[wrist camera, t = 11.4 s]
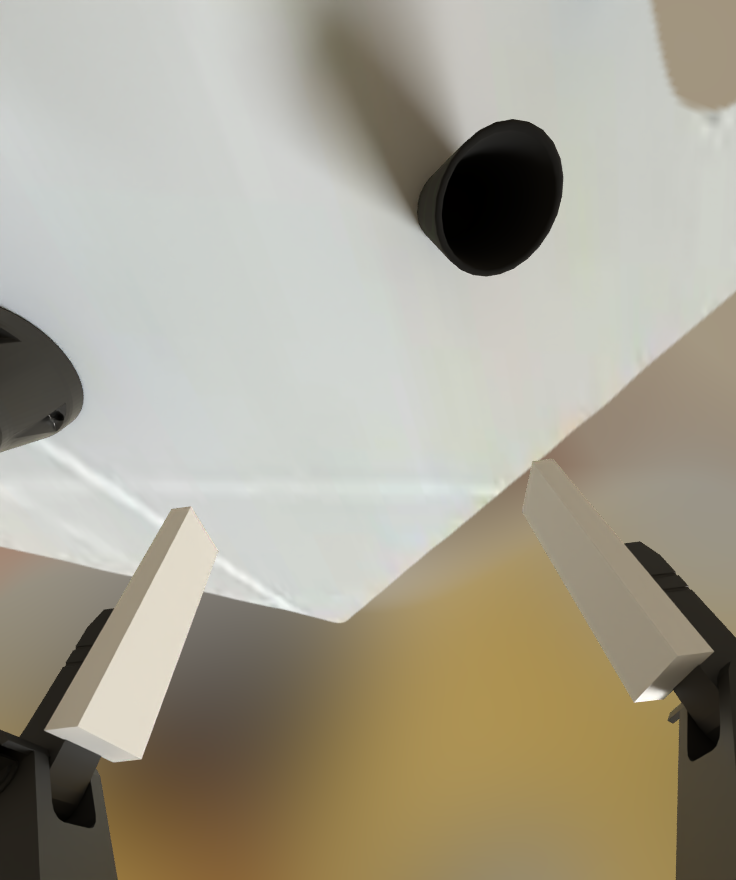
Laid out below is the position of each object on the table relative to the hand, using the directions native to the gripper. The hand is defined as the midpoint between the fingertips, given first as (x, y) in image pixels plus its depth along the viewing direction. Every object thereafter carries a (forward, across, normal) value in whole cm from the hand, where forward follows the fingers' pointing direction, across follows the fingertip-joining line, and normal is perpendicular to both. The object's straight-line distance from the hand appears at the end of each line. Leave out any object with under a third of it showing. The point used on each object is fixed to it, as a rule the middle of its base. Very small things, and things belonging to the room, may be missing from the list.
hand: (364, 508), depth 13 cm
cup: (+27, +10, +9) cm, 30 cm away
